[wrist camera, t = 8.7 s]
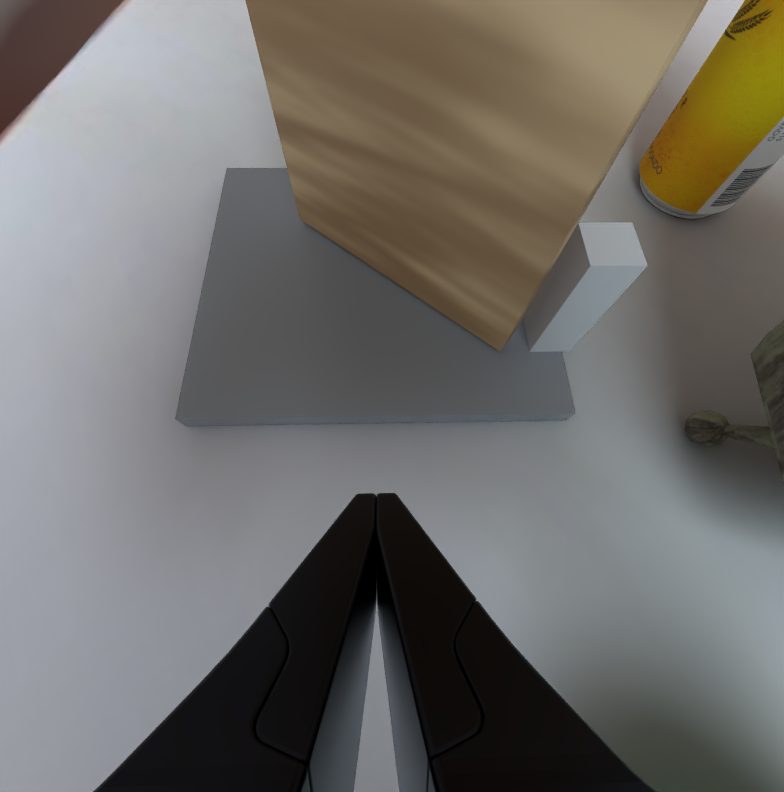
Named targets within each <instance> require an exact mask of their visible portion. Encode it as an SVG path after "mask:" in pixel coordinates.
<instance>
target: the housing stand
mask: <svg viewBox="0 0 784 792" xmlns="http://www.w3.org/2000/svg"><path fill="white" fill-rule="evenodd" d="M647 266H648V265H647V262H646V259H645V257H644V254H643V251H642V248H641V245H640V242H639V240H638V237H637V234H636V231H635V228H634V225H633V222H578V224H577V226H576V227H575V229H574V231H573V233H572V234H571V236H570V238H569V239H568V241H567V243H566V245H565V246H564V248H563V250H562V251H561V253H560V255H559V257H558V258H557V260H556V262H555V263H554V265H553V267H552V269H551V270H550V272H549V274H548V275H547V277H546V279H545V281H544V282H543V284H542V286H541V287H540V289H539V291H538V293H537V294H536V296H535V298H534V299H533V301H532V303H531V305H530V306H529V308H528V310H527V311H526V313H525V315H524V317H523V318H522V320H521V322H520V323H519V325H518V327H517V329H516V330H515V332H514V334H513V335H512V337H511V339H510V340H509V341H508V342H507V344H506V345H505V346H504V347H503V349H502V350H501V351H498V350H497V349H495V348H494V347H492V346H491V345H489V344H488V343H486V342H485V341H483V340H482V339H480V338H479V337H477V336H476V335H474V334H473V333H471V332H470V331H468V330H466V329H465V328H463V327H462V326H460V325H459V324H457V323H456V322H454V321H453V320H451V319H450V318H448V317H447V316H445V315H444V314H442V313H441V312H439V311H438V310H436V309H435V308H433V307H432V306H430V305H429V304H427V303H426V302H424V301H423V300H421V299H420V298H418V297H417V296H415V295H414V294H412V293H411V292H409V291H408V290H406V289H405V288H403V287H402V286H400V285H399V284H397V283H396V282H394V281H393V280H391V279H390V278H388V277H386V276H385V275H383V274H382V273H380V272H379V271H377V270H376V269H374V268H373V267H371V266H370V265H368V264H367V263H365V262H364V261H362V260H361V259H359V258H358V257H356V256H355V255H353V254H352V253H350V252H349V251H347V250H346V249H344V248H343V247H341V246H340V245H338V244H337V243H335V242H334V241H332V240H331V239H329V238H328V237H326V236H325V235H323V234H322V233H320V232H319V231H317V230H316V229H314V228H313V227H311V226H309V225H308V224H306V223H305V222H303V221H302V220H300V218H299V214H298V210H297V206H296V202H295V198H294V194H293V190H292V186H291V182H290V178H289V174H288V169H287V168H227V170H226V175H225V179H224V184H223V189H222V194H221V199H220V204H219V209H218V213H217V218H216V223H215V228H214V233H213V238H212V243H211V248H210V252H209V257H208V262H207V267H206V272H205V277H204V282H203V286H202V291H201V296H200V301H199V306H198V311H197V316H196V320H195V325H194V330H193V335H192V340H191V345H190V350H189V355H188V359H187V364H186V369H185V374H184V379H183V384H182V389H181V393H180V398H179V403H178V408H177V413H176V418H175V419H176V420H178V421H180V422H181V423H183V424H184V425H186V426H205V425H273V424H340V423H408V422H476V421H544V420H567V419H568V418H569V417H571V416H572V415H573V414H575V409H574V405H573V400H572V395H571V391H570V386H569V382H568V377H567V373H566V368H565V363H564V359H563V354H562V351H571V350H572V349H573V347H574V346H575V345H576V344H577V343H578V342H579V341H580V340H581V339H582V338H583V336H584V335H585V334H586V333H587V332H588V331H589V330H590V329H591V328H592V327H593V325H594V324H595V323H596V322H597V321H598V320H599V319H600V318H601V317H602V316H603V314H604V313H605V312H606V311H607V310H608V309H609V308H610V307H611V306H612V305H613V303H614V302H615V301H616V300H617V299H618V298H619V297H620V296H621V295H622V294H623V292H624V291H625V290H626V289H627V288H628V287H629V286H630V285H631V284H632V283H633V281H634V280H635V279H636V278H637V277H638V276H639V275H640V274H641V273H642V272H643V270H644V269H645V268H646V267H647Z"/></svg>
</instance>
